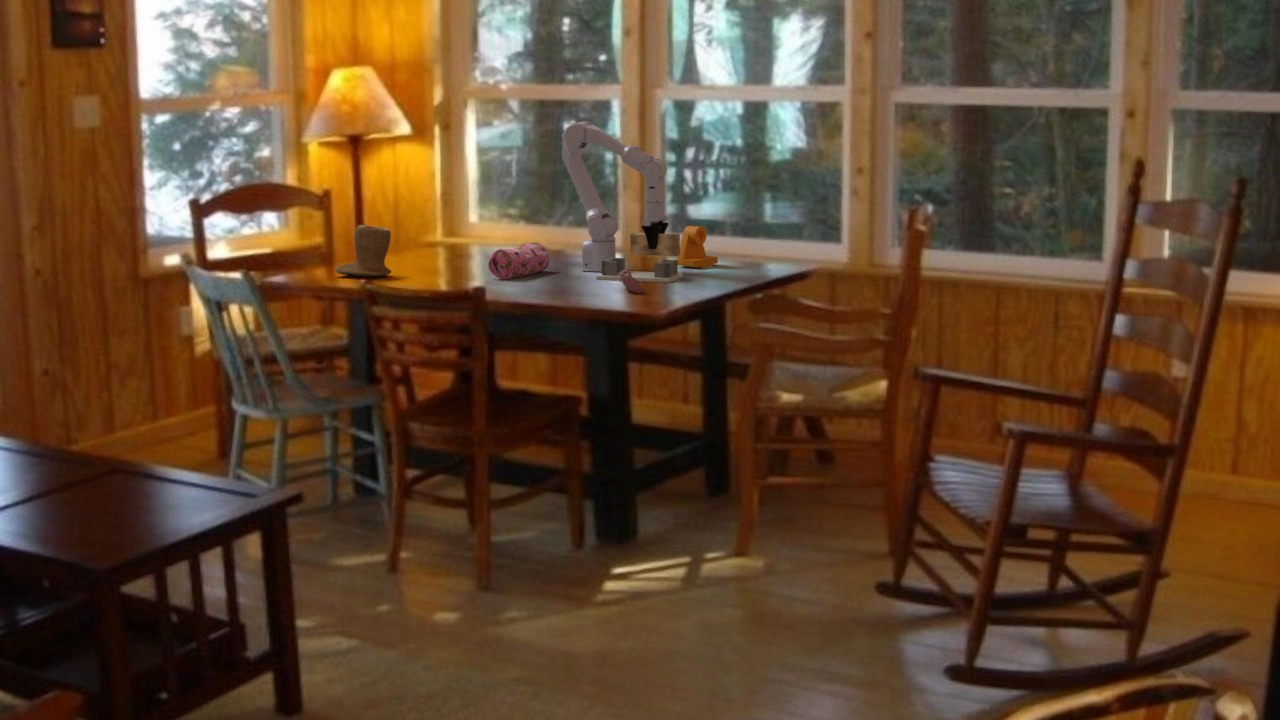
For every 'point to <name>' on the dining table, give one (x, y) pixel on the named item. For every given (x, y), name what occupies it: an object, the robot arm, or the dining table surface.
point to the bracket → (694, 249)
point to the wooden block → (665, 246)
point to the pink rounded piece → (630, 282)
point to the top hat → (368, 253)
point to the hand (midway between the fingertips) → (655, 248)
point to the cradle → (662, 272)
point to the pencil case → (519, 261)
